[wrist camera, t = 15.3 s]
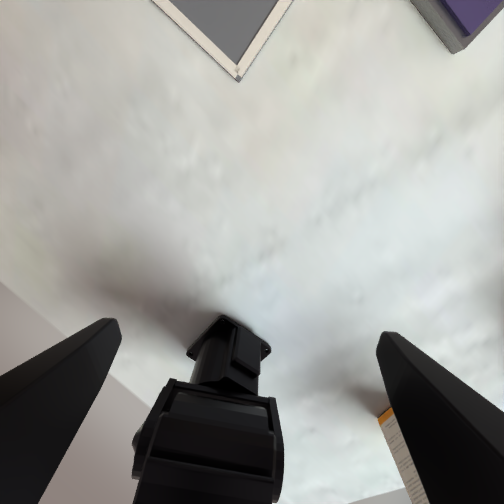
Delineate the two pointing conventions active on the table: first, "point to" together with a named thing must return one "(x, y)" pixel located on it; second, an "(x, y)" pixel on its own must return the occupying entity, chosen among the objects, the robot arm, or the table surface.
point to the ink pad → (458, 19)
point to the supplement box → (402, 457)
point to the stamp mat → (228, 27)
